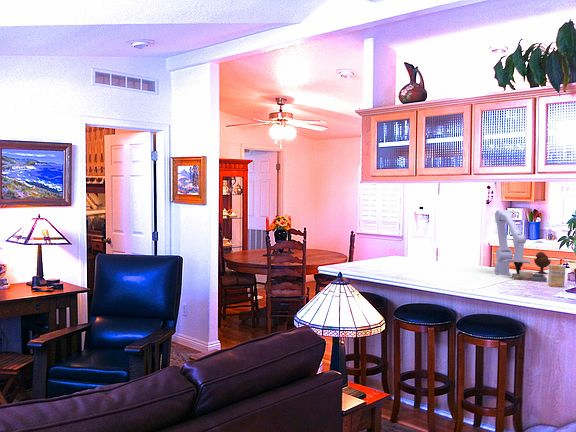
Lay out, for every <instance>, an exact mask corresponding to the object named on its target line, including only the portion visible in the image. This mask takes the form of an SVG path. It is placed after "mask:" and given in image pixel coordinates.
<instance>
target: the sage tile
mask: <svg viewBox="0 0 576 432" xmlns="http://www.w3.org/2000/svg"><path fill="white" fill-rule="evenodd" d="M526 272H527V271H522V270H520V271H519V276H526Z"/></svg>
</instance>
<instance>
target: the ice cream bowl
mask: <svg viewBox="0 0 576 432" xmlns="http://www.w3.org/2000/svg"><path fill="white" fill-rule="evenodd" d="M535 257H536V258H534V259H533V260H534V261H533V262H534V264H535V265H536V266H537V267H539V268H540V270H539V271H537V274H543V275H546V274H547V272H545V271H544V268H547V267H549V264H550V265H551V261H552V260H551V259H549V256H548V255H547V254H546V253H545V252H542V251H539V252H537V253H536V254H535Z"/></svg>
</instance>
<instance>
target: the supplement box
mask: <svg viewBox="0 0 576 432" xmlns="http://www.w3.org/2000/svg"><path fill="white" fill-rule="evenodd" d="M565 276H566V265H563V264H551V263H550V264H549V265H548V279H547V280H548V281H547V285H548V286H549V287H556V288H561V287H562V288H565V282H566V281H565V280H566V277H565Z"/></svg>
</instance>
